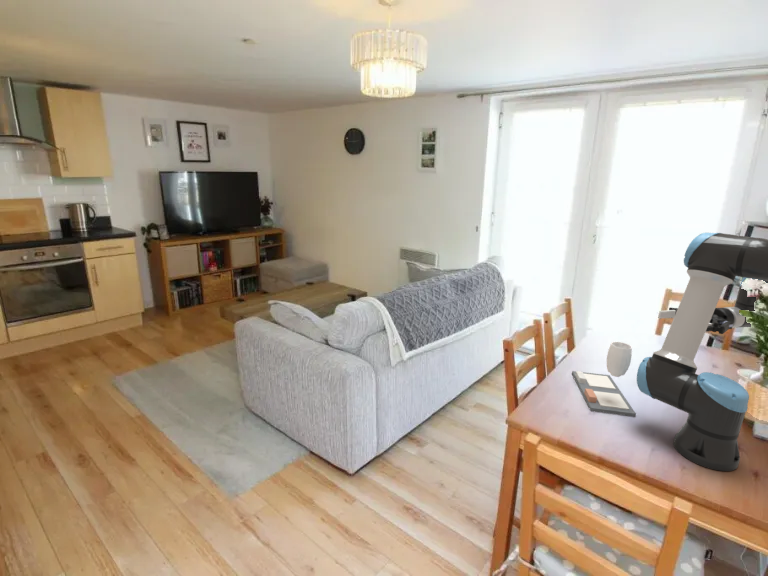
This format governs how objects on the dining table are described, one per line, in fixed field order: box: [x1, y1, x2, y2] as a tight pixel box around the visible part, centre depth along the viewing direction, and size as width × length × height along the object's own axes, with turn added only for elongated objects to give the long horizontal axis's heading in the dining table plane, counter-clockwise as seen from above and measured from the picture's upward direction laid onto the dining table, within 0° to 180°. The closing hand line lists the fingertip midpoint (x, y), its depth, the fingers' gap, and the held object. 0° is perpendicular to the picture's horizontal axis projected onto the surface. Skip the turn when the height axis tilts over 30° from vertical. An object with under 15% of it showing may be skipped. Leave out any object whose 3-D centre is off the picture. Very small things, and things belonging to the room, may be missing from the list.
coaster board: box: [571, 370, 637, 418], centre depth 151 cm, size 28×14×3 cm, turn 168°
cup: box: [606, 341, 633, 378], centre depth 142 cm, size 7×7×21 cm
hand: (676, 321), depth 141 cm, fingers open, 13 cm apart
